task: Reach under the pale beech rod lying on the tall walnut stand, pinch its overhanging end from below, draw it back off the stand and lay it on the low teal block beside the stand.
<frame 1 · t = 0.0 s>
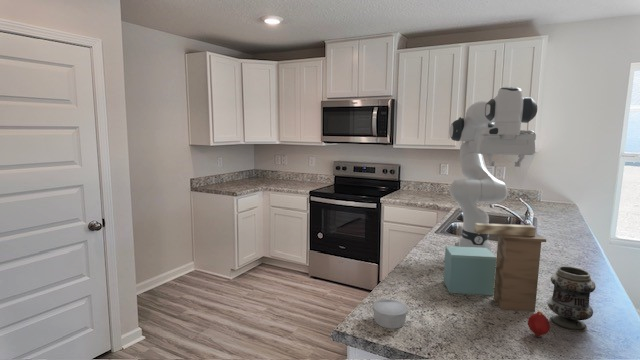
hand: (504, 166, 140), 48 cm above the worktop, tool pointing down, fingers open, 8 cm apart
apothecary jar: (567, 324, 117), on the worktop
rod: (504, 233, 127), point 26 cm above the worktop, touching tall stand
low block: (467, 287, 143), on the worktop
tall stand: (513, 305, 130), on the worktop
ramekin: (389, 322, 118), on the worktop
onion: (537, 336, 110), on the worktop
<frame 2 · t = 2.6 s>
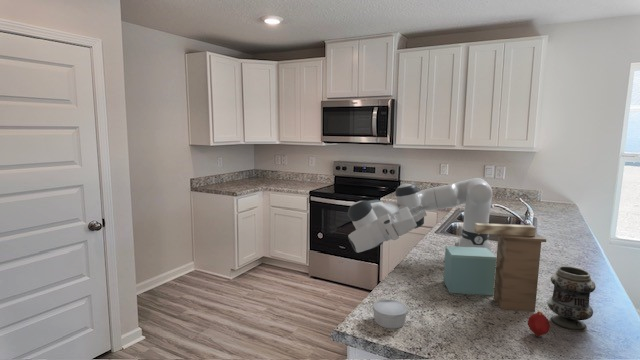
hand: (423, 209, 132), 33 cm above the worktop, tool pointing upward, fingers open, 8 cm apart
nothing on the worktop moved.
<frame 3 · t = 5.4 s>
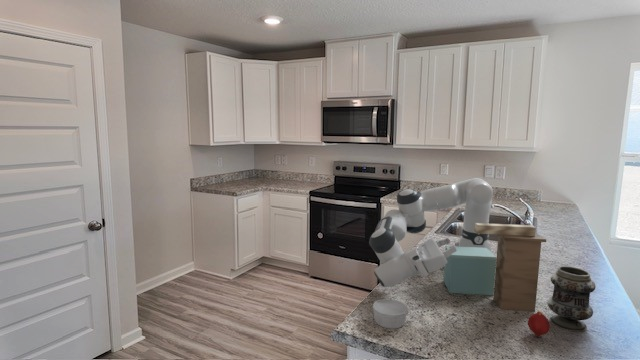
hand: (452, 243, 129), 21 cm above the worktop, tool pointing upward, fingers open, 8 cm apart
nothing on the worktop moved.
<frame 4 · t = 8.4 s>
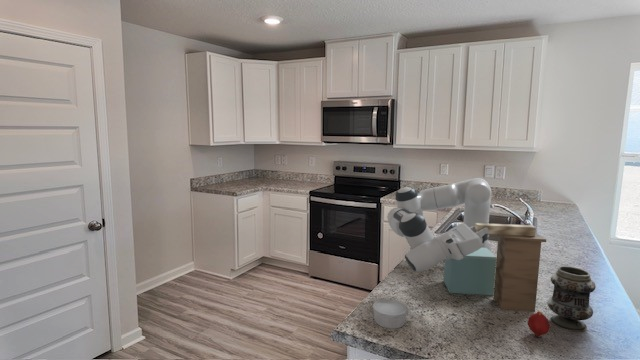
hand: (485, 227, 127), 28 cm above the worktop, tool pointing upward, fingers closed on rod, 3 cm apart
rod: (504, 233, 127), point 26 cm above the worktop, touching gripper, tall stand
everything else where it was.
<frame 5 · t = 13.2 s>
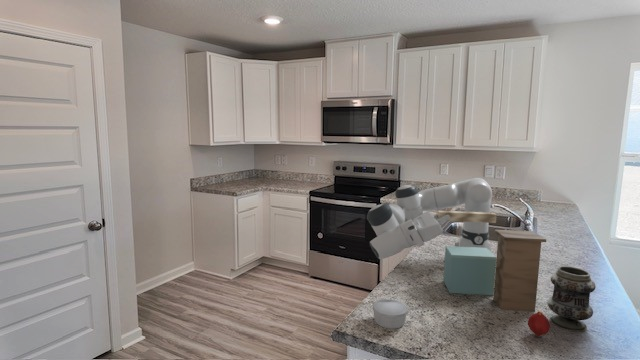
hand: (448, 214, 129), 32 cm above the worktop, tool pointing upward, fingers closed on rod, 3 cm apart
rod: (466, 220, 128), point 30 cm above the worktop, touching gripper
everything else where it was.
when the fingers open (19 cm above the worktop, at t = 18.1 s): rod drops 2 cm, resting on low block.
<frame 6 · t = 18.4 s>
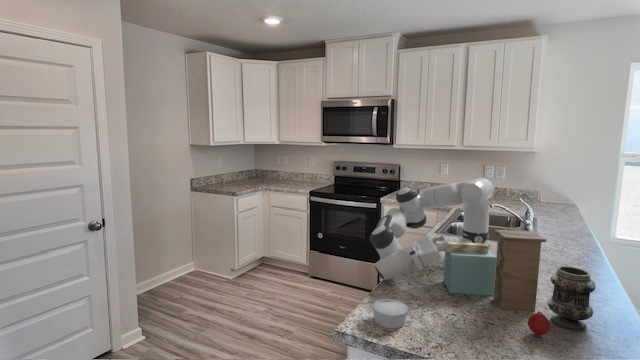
hand: (445, 240, 142), 19 cm above the worktop, tool pointing upward, fingers open, 6 cm apart
rod: (461, 250, 142), point 15 cm above the worktop, touching low block
everything else where it was.
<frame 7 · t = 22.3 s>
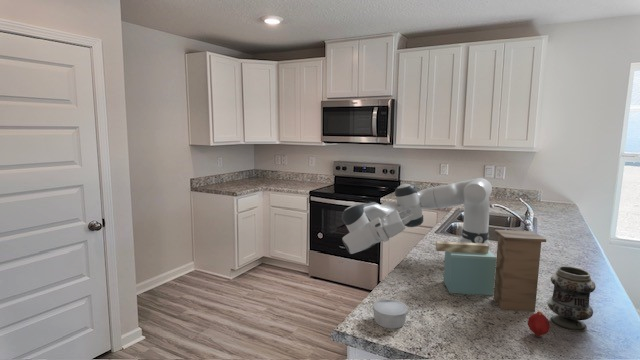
hand: (411, 213, 142), 29 cm above the worktop, tool pointing upward, fingers open, 8 cm apart
nothing on the worktop moved.
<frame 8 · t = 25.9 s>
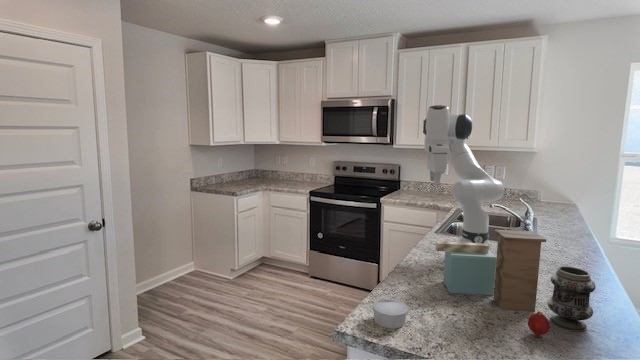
hand: (434, 182, 143), 41 cm above the worktop, tool pointing down, fingers open, 8 cm apart
nothing on the worktop moved.
at the end: rod inside the target area on the low block (2.9 cm from its centre), point 15.0 cm above the low block's base; the gripper is holding nothing; rod tilted 0° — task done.
